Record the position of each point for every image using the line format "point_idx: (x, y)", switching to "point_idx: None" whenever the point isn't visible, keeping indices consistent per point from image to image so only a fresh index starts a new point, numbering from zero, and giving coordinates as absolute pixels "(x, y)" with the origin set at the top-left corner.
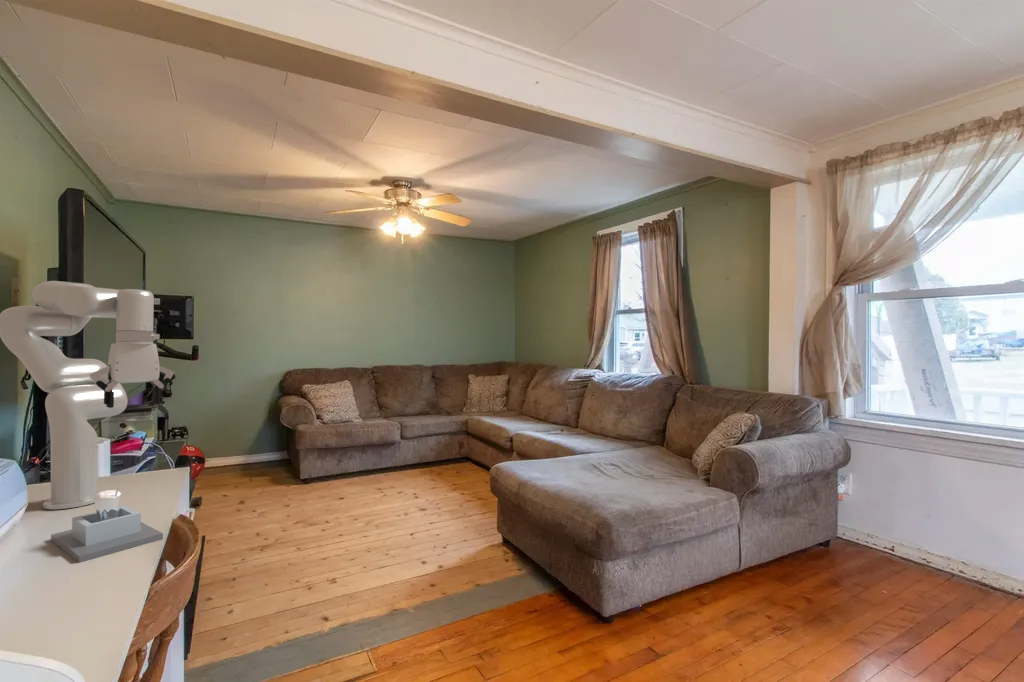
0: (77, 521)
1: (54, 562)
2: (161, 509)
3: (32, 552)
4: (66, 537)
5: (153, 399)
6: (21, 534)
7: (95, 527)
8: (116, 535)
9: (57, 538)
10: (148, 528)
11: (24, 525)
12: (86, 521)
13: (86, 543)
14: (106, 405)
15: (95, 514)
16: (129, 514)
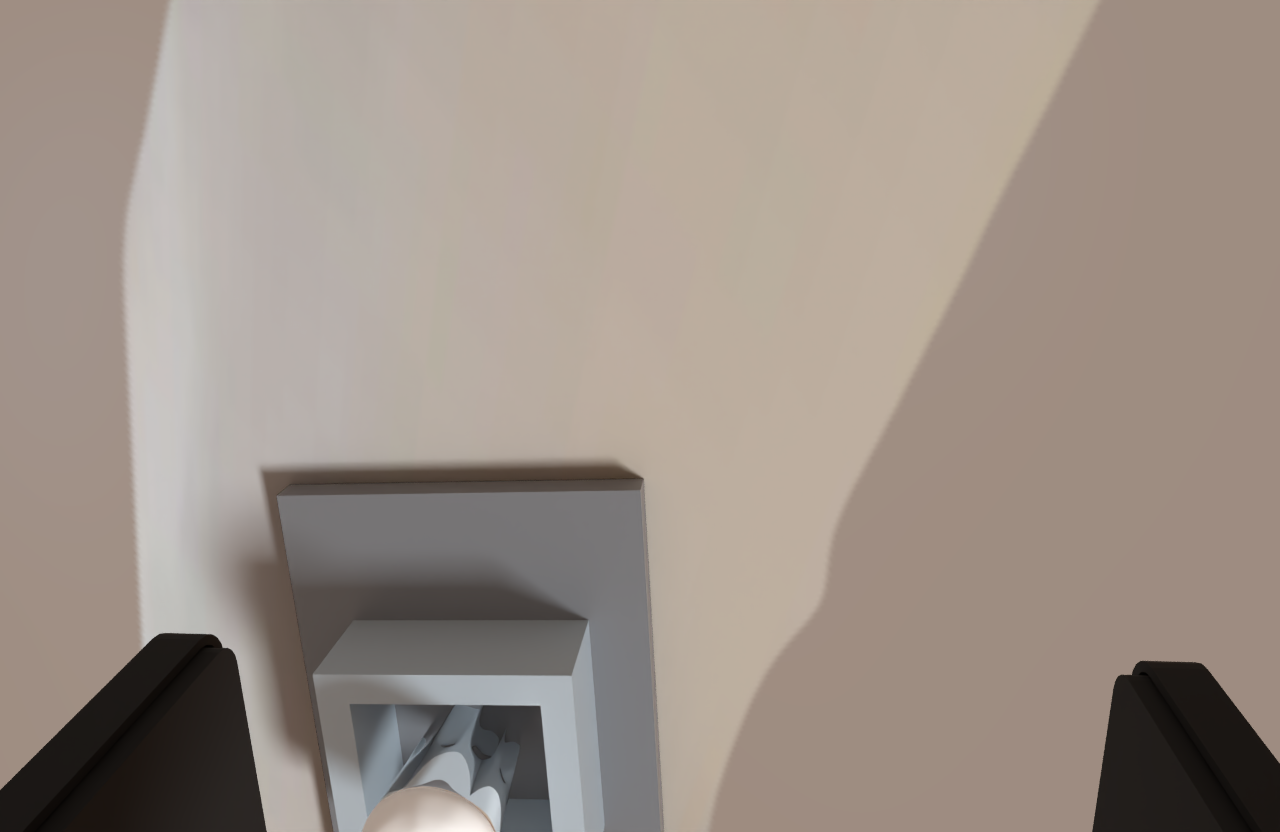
0: (328, 763)
1: (286, 818)
2: (856, 390)
3: (219, 609)
4: (331, 617)
5: (1142, 791)
6: (173, 222)
7: None
8: None
9: (297, 596)
10: (644, 810)
11: (182, 4)
12: (361, 809)
13: None
14: (158, 635)
15: (417, 701)
16: None
